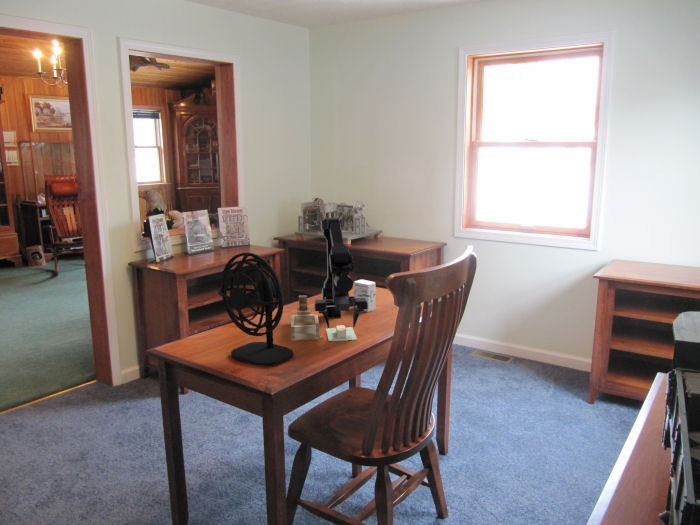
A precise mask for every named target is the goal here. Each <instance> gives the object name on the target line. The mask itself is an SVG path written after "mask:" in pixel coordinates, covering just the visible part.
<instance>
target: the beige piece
mask: <svg viewBox="0 0 700 525" xmlns="http://www.w3.org/2000/svg"><path fill="white" fill-rule="evenodd" d="M310 307H311V306H310ZM310 307H308V306H307V310H300V309H299V307H297V308H296V314H291V315H290V339H291V340H290V341H308V340H310V339H312V340H320V339H321V338H320V336H321V335H320V333H321V332H320V329H321V328H320V323H319V317H318V313H314V314H311V308H310ZM310 341H311V340H310Z"/></svg>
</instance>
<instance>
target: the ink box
mask: <svg viewBox="0 0 700 525" xmlns="http://www.w3.org/2000/svg"><path fill="white" fill-rule="evenodd" d="M376 291H377V290H376V282H375V281H371V280H366V279H359V280H355V281H353V296H355V298H365V299H366V301H367V302H368V309H364V311H363V312H368V313H369V312H372V311H376Z"/></svg>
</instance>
